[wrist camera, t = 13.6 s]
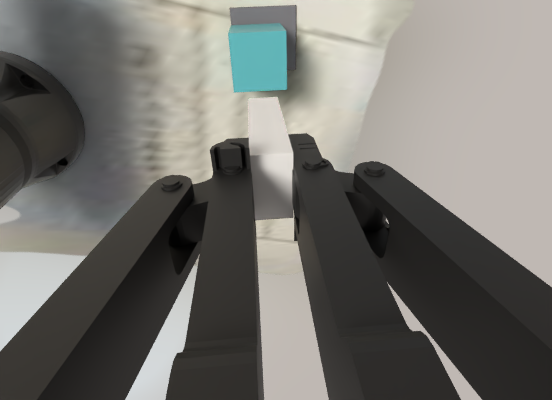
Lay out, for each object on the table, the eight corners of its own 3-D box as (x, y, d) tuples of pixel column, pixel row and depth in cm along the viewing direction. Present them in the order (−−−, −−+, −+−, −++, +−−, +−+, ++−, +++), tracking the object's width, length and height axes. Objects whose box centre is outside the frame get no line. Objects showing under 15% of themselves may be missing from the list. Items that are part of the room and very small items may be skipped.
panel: (235, 72, 39) (235, 72, 38) (229, 7, 35) (229, 7, 35) (295, 69, 39) (295, 69, 39) (295, 5, 35) (295, 5, 35)
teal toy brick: (235, 76, 38) (234, 92, 32) (231, 25, 35) (228, 33, 29) (281, 74, 38) (286, 89, 33) (280, 23, 35) (286, 30, 30)
